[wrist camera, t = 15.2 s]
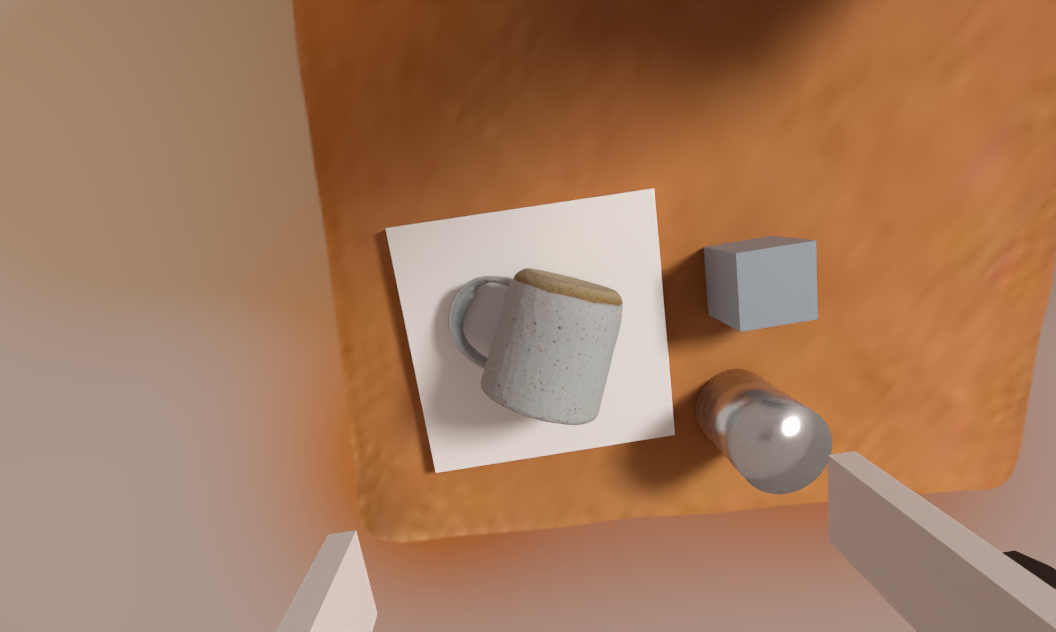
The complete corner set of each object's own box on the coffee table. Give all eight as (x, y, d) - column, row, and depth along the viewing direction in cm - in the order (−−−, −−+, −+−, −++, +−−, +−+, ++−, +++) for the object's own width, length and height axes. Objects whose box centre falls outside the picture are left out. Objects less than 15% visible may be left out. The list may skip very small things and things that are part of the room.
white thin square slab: (649, 188, 33) (654, 188, 32) (670, 429, 37) (675, 435, 36) (388, 227, 33) (385, 228, 32) (437, 466, 37) (435, 473, 36)
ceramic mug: (615, 282, 34) (645, 302, 26) (586, 392, 35) (606, 441, 28) (464, 248, 33) (450, 258, 25) (441, 362, 34) (421, 404, 27)
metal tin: (770, 363, 37) (831, 399, 30) (773, 436, 38) (832, 486, 31) (692, 375, 37) (735, 414, 30) (697, 448, 38) (740, 500, 31)
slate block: (772, 235, 35) (816, 240, 30) (774, 304, 36) (817, 319, 31) (702, 247, 35) (735, 253, 30) (707, 315, 36) (740, 331, 31)
